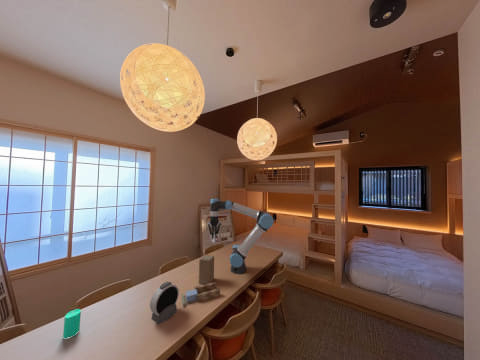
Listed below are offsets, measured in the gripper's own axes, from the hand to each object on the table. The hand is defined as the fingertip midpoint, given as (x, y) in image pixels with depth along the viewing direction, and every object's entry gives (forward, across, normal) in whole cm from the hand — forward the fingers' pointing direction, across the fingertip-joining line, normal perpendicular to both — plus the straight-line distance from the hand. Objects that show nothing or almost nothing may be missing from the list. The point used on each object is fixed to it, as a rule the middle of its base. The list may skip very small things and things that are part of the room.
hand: (213, 242), depth 145 cm
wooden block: (+30, +8, +7) cm, 31 cm away
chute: (+29, +16, +24) cm, 41 cm away
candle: (+30, +84, +25) cm, 93 cm away
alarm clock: (+30, +40, +31) cm, 59 cm away
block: (+29, +23, +24) cm, 44 cm away
